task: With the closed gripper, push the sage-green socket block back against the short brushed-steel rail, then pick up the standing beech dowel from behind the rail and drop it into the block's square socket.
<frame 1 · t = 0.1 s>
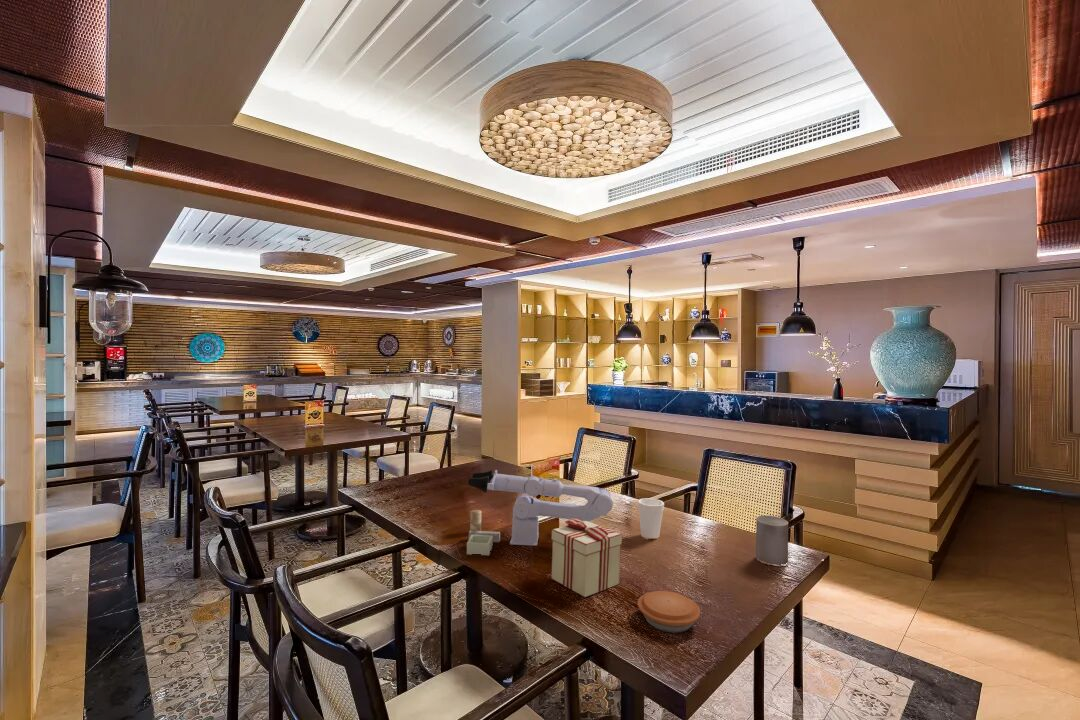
hand: (470, 478, 172), 22 cm above the table, tool horizontal, fingers open, 7 cm apart
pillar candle: (771, 561, 160), on the table
gift box: (586, 580, 143), on the table
rail: (484, 540, 171), on the table
socket block: (479, 551, 163), on the table
foam cup: (650, 537, 179), on the table
dowel: (475, 532, 179), on the table
pie: (668, 621, 122), on the table
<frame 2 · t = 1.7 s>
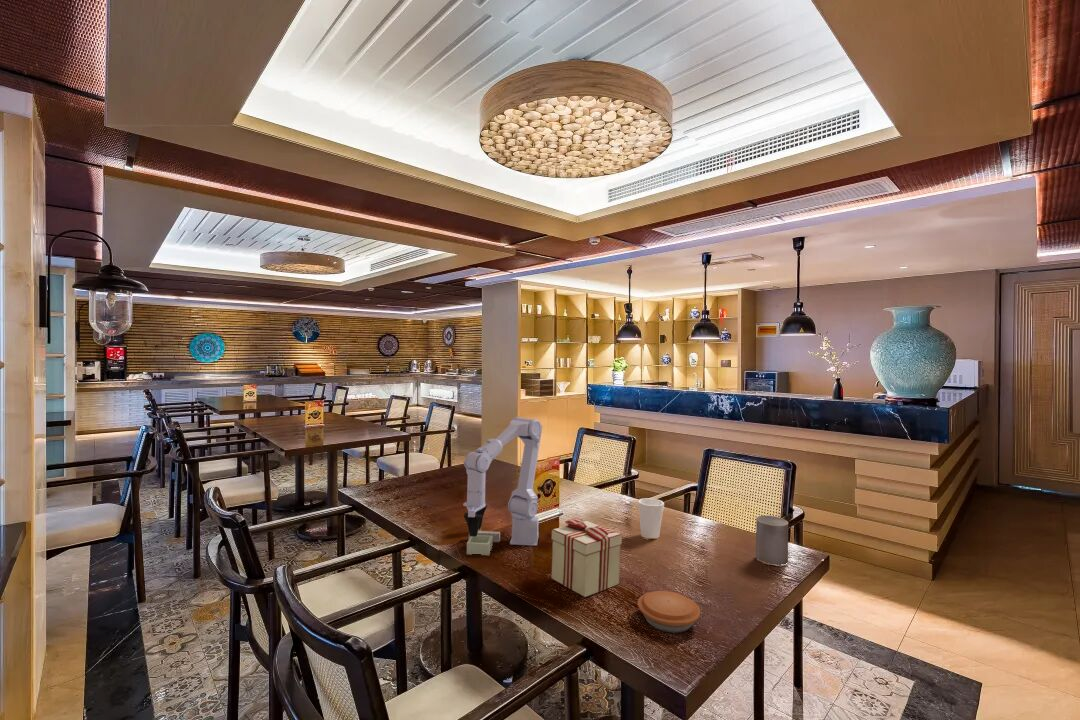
hand: (475, 532, 154), 9 cm above the table, tool pointing down, fingers open, 6 cm apart
nothing on the table moved.
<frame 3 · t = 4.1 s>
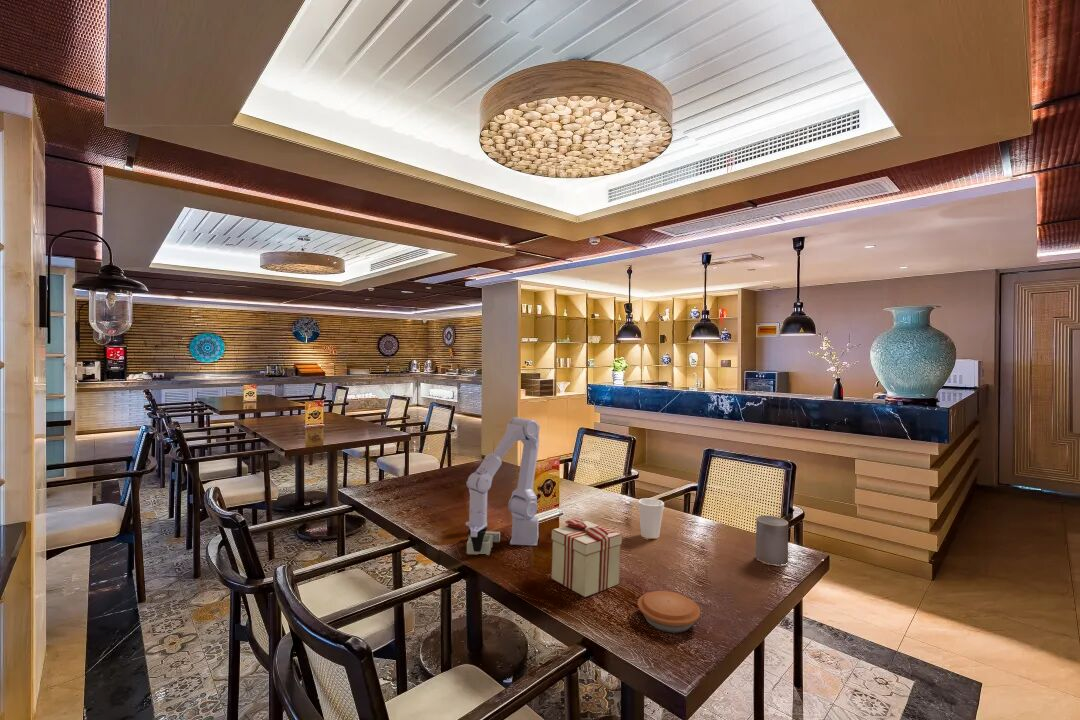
hand: (477, 550, 158), 2 cm above the table, tool pointing down, fingers closed
socket block: (479, 550, 163), on the table, touching gripper
everything else where it was.
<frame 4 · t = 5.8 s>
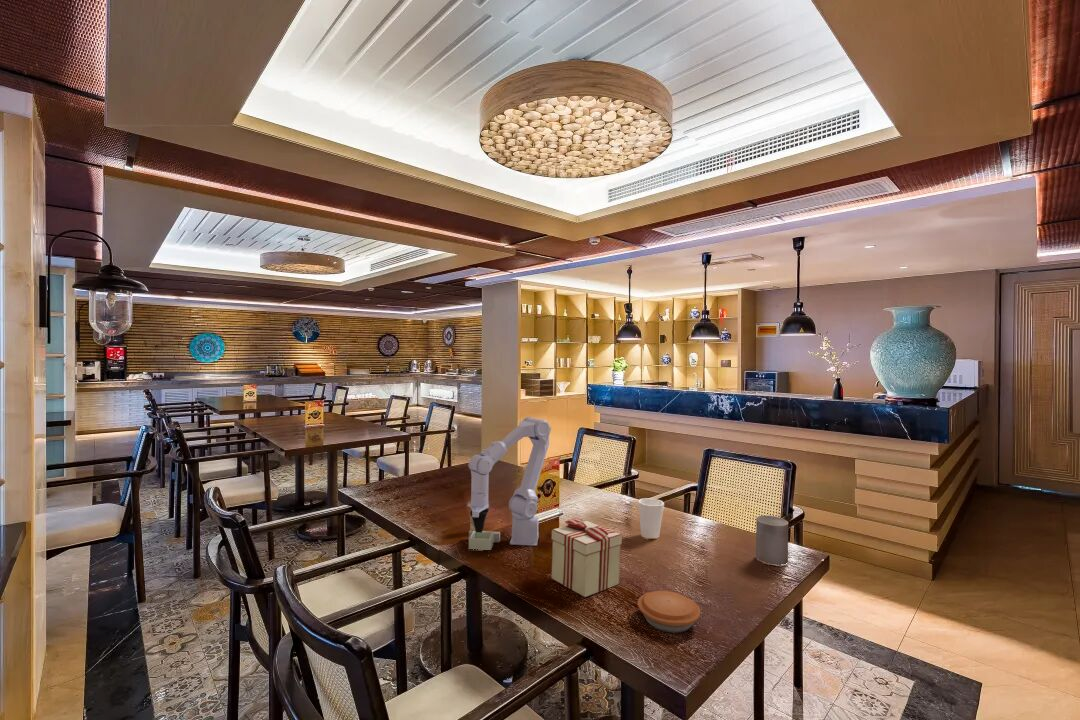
hand: (479, 531, 161), 7 cm above the table, tool pointing down, fingers closed
socket block: (481, 546, 167), on the table
everything else where it was.
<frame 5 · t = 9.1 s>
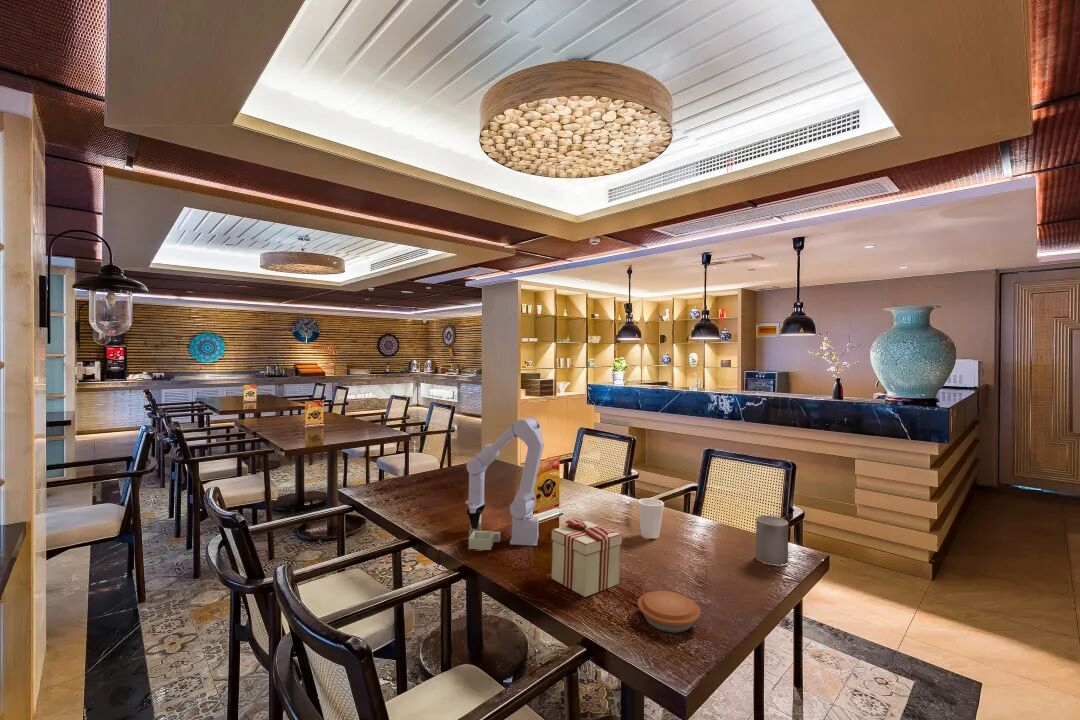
hand: (475, 526, 179), 2 cm above the table, tool pointing down, fingers closed on dowel, 4 cm apart
dowel: (475, 532, 179), on the table, touching gripper
everything else where it was.
when the fingers open (6 cm above the table, at t = 12.3 s): dowel drops 3 cm, resting on socket block.
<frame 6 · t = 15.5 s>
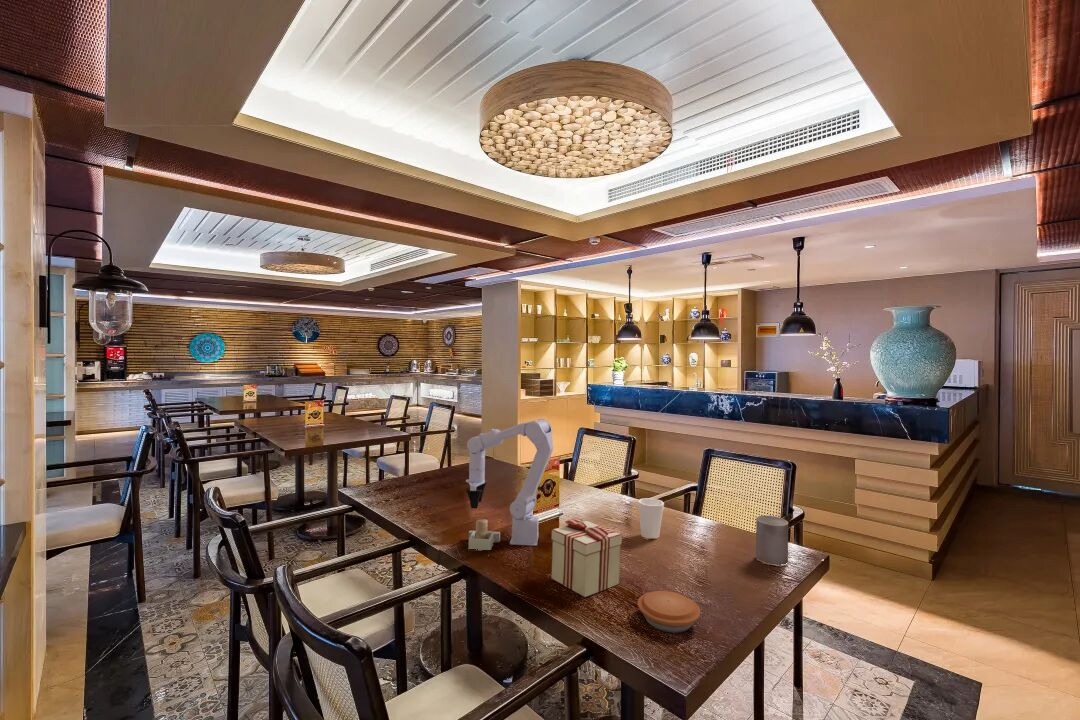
hand: (476, 504, 179), 10 cm above the table, tool pointing down, fingers open, 7 cm apart
socket block: (481, 546, 167), on the table, touching dowel
dowel: (481, 544, 166), point 1 cm above the table, touching socket block
everything else where it was.
at the end: dowel 0.2 cm off-centre on the socket block, point 1.0 cm above the socket block's base; socket block 0.1 cm from the target spot, on the table; dowel tilted 0° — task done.
